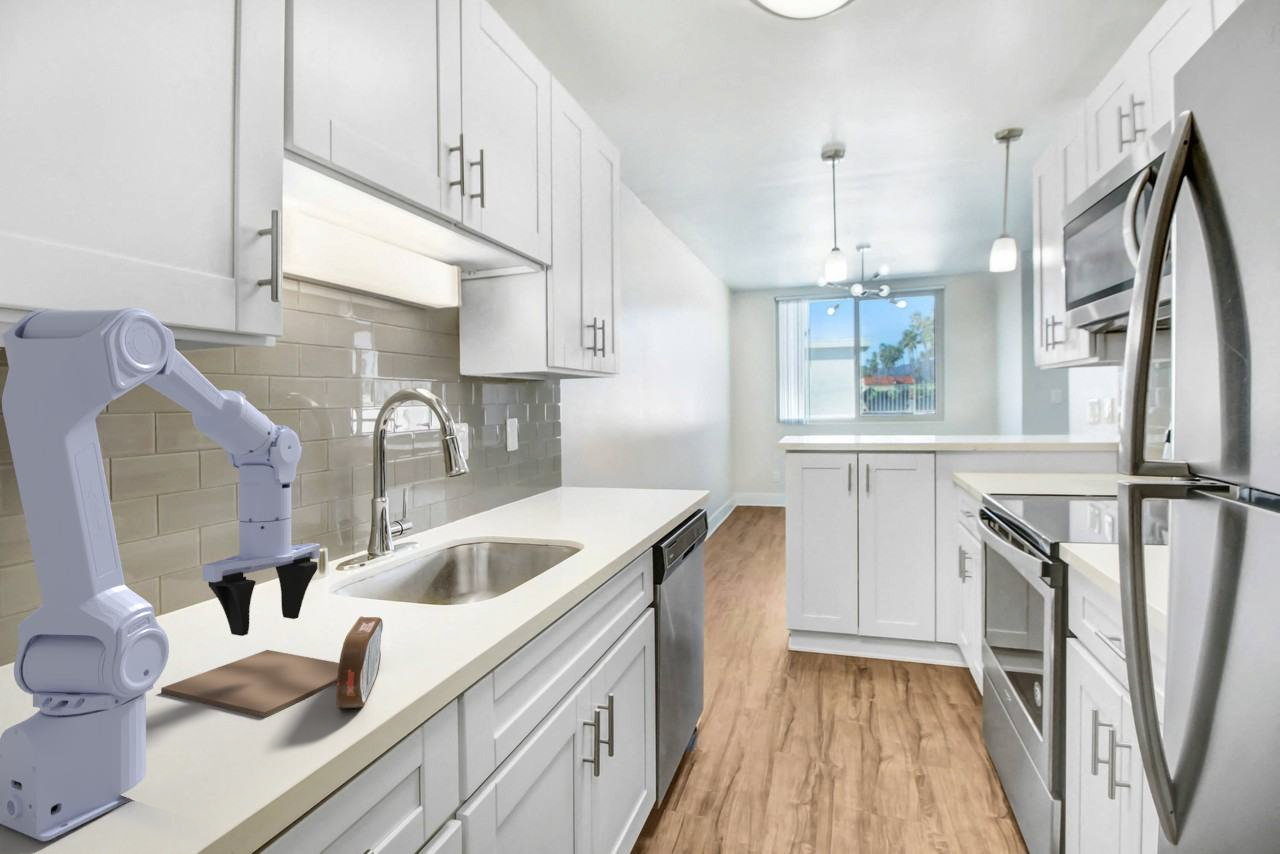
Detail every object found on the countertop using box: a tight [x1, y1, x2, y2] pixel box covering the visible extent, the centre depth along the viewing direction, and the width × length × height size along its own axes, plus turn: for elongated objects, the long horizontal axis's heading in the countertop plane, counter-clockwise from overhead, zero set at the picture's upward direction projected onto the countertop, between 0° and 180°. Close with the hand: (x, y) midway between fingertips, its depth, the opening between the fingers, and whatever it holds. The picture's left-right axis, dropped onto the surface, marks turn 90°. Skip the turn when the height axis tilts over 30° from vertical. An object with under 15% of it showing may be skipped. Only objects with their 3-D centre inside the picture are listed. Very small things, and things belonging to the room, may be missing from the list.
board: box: [160, 649, 339, 718], centre depth 79 cm, size 14×18×1 cm
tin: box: [335, 616, 384, 710], centre depth 76 cm, size 15×3×8 cm, turn 14°
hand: (266, 625), depth 79 cm, fingers open, 6 cm apart
